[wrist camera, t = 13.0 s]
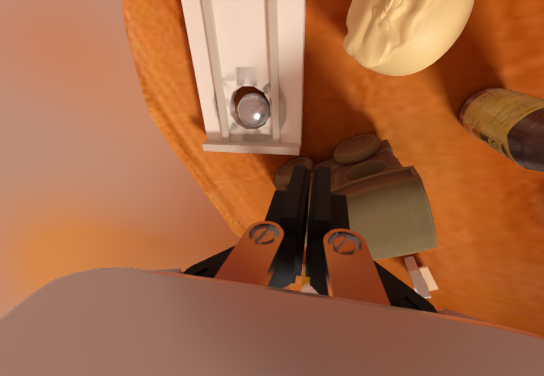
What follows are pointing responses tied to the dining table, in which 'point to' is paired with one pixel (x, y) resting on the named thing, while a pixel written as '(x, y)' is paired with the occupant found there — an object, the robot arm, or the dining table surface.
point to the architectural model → (420, 278)
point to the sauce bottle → (508, 124)
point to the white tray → (249, 70)
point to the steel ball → (253, 109)
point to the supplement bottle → (307, 284)
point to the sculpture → (403, 32)
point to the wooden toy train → (375, 196)
